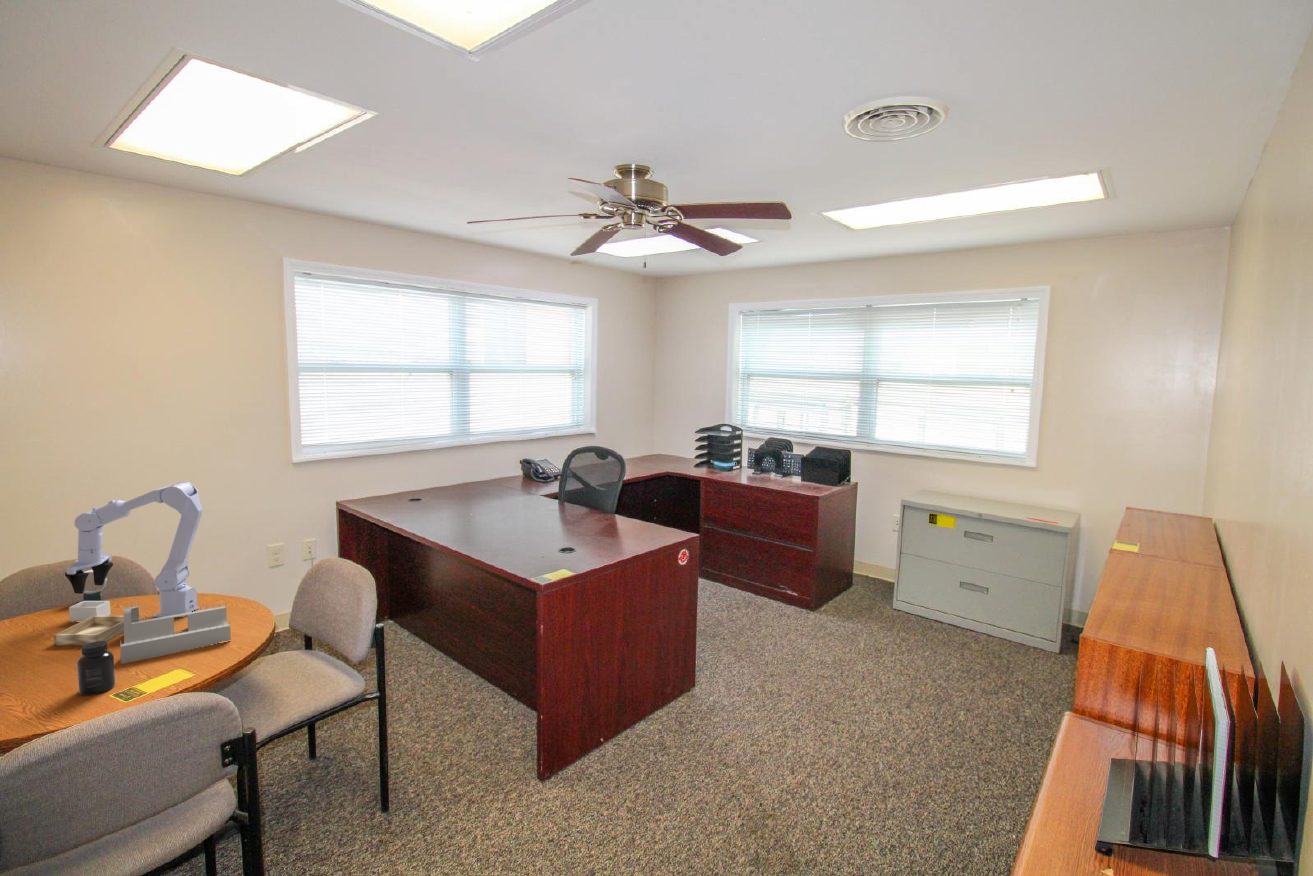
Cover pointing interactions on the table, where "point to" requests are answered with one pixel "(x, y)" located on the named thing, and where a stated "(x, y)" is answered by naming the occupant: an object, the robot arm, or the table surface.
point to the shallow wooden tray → (91, 631)
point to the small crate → (89, 610)
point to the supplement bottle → (95, 669)
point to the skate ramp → (171, 633)
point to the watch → (93, 591)
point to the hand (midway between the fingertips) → (89, 589)
